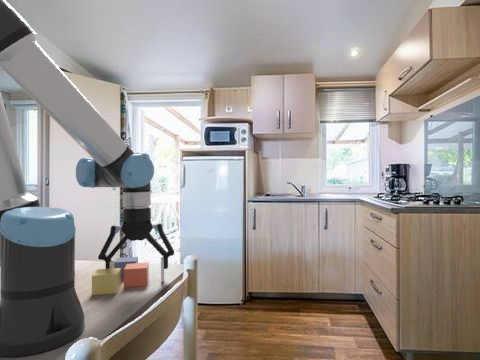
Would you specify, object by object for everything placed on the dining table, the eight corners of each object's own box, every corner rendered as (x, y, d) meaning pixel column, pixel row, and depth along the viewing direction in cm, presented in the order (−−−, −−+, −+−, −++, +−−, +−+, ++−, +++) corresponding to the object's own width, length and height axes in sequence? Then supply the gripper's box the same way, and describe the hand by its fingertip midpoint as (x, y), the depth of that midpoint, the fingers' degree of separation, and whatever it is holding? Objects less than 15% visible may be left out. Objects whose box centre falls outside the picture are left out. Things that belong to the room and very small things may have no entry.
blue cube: (135, 278, 95) (135, 261, 95) (114, 279, 94) (114, 262, 94) (137, 272, 101) (137, 256, 101) (118, 273, 100) (117, 257, 100)
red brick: (146, 286, 87) (146, 267, 87) (124, 287, 86) (123, 269, 86) (148, 279, 93) (148, 262, 93) (127, 281, 92) (127, 263, 92)
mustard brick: (116, 293, 82) (116, 274, 82) (91, 295, 80) (91, 275, 80) (121, 286, 87) (121, 268, 88) (97, 287, 86) (97, 269, 86)
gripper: (181, 205, 96) (182, 275, 96) (92, 207, 91) (93, 281, 91) (182, 207, 89) (183, 282, 89) (85, 209, 84) (86, 290, 84)
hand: (137, 282), depth 90 cm, fingers open, 13 cm apart
